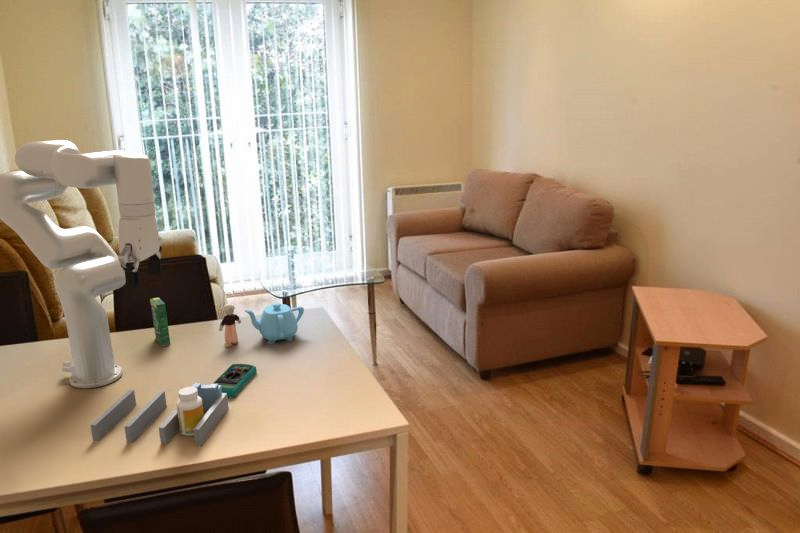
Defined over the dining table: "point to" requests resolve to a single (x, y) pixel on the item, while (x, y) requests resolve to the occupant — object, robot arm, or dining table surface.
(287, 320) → the teapot
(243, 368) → the digital multimeter
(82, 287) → the robot arm
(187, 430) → the supplement bottle
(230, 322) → the grandmother figurine
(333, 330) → the dining table surface
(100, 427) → the grey parallel walls
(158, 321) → the coffee box
